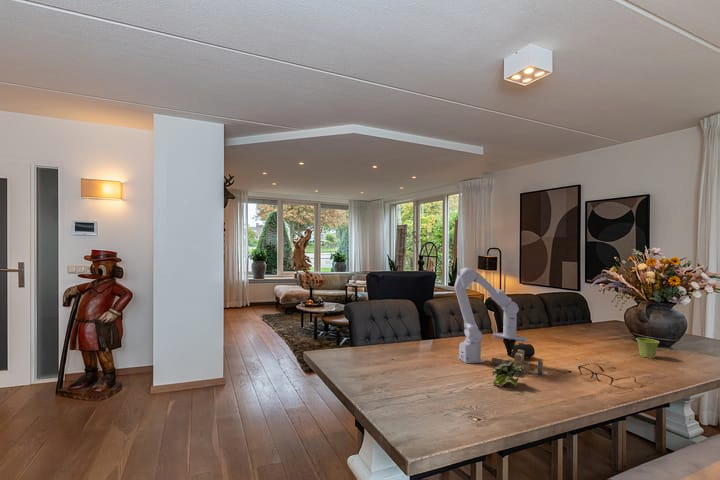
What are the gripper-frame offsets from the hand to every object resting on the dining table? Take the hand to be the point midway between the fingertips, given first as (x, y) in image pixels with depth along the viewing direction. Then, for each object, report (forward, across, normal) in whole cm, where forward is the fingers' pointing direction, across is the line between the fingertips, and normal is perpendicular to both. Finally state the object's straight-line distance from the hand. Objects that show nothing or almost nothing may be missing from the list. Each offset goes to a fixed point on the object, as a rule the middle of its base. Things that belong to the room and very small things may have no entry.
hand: (509, 355), depth 163 cm
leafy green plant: (+3, -4, +31) cm, 32 cm away
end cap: (+4, -4, -11) cm, 12 cm away
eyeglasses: (+4, -38, -2) cm, 38 cm away
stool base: (+3, -5, +8) cm, 10 cm away
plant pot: (+4, -59, -53) cm, 80 cm away
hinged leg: (+3, -5, +2) cm, 6 cm away
